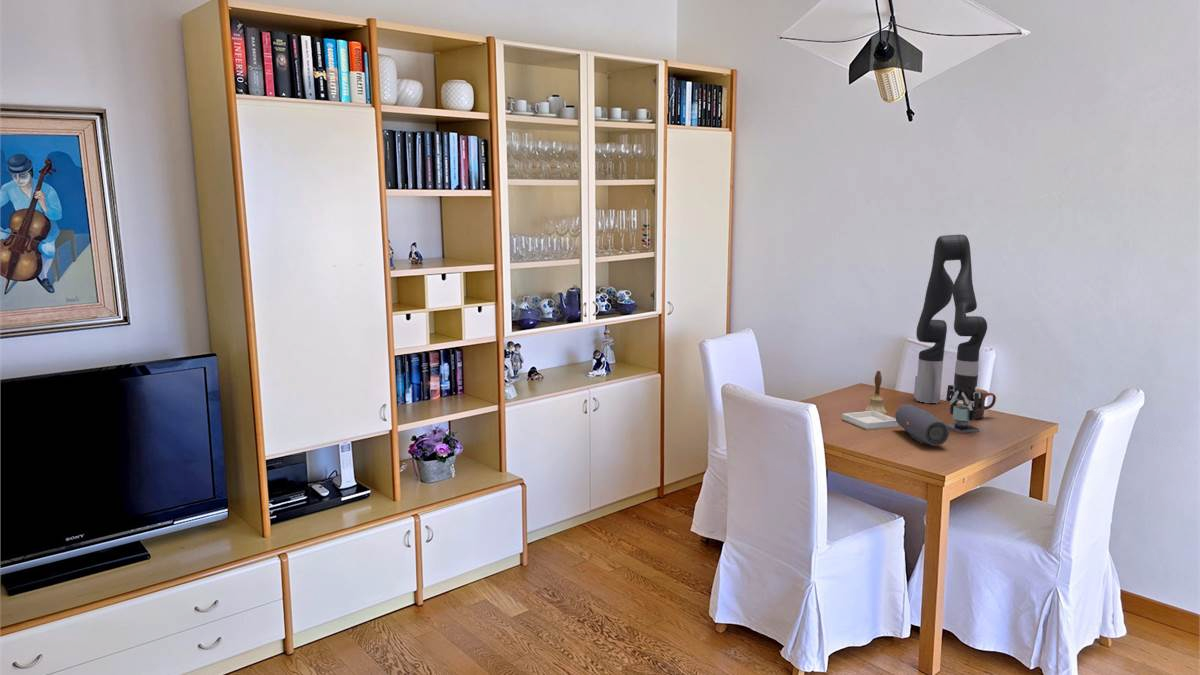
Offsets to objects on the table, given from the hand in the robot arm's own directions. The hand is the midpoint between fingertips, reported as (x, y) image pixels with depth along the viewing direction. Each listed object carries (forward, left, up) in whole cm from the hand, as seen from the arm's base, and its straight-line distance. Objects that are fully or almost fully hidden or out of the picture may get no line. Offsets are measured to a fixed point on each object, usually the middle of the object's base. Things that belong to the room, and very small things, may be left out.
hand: (962, 417), depth 294 cm
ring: (0, 0, 0) cm, 0 cm away
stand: (0, 0, -4) cm, 4 cm away
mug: (-11, +18, -5) cm, 22 cm away
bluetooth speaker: (+5, -23, -5) cm, 24 cm away
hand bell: (-30, -13, -5) cm, 33 cm away
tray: (-17, -26, -4) cm, 31 cm away
